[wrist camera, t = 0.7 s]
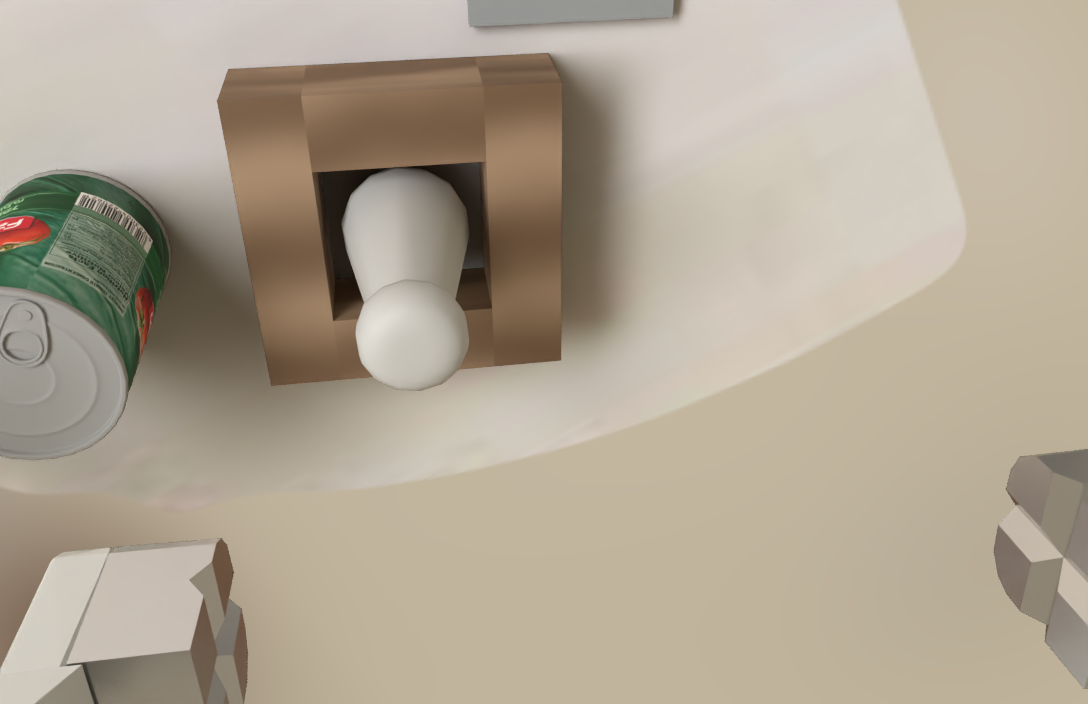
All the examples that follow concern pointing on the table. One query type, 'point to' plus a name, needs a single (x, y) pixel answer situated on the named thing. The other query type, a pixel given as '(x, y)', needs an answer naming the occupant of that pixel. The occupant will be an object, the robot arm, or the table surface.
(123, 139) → the table surface
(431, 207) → the salt shaker
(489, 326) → the socket block
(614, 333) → the table surface
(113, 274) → the canned tomato
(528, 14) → the coaster
